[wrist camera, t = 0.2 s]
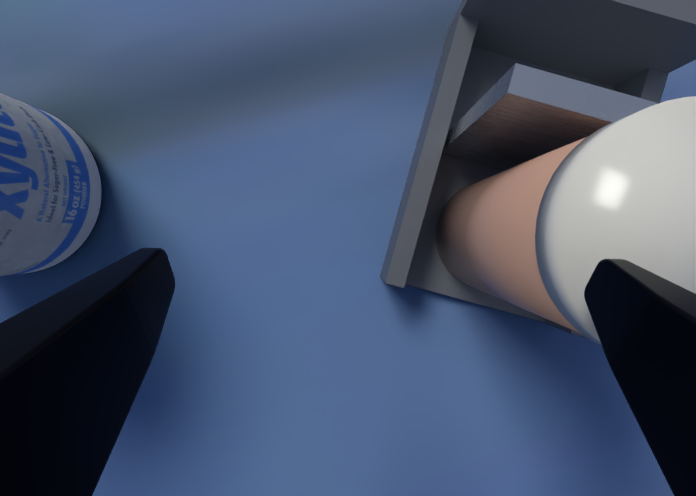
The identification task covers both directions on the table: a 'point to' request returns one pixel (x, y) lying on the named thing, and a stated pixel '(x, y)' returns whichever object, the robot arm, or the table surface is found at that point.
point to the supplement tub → (42, 189)
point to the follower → (534, 117)
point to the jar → (580, 216)
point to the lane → (486, 70)
